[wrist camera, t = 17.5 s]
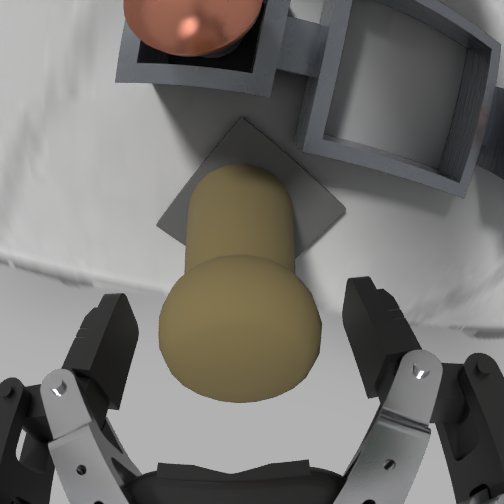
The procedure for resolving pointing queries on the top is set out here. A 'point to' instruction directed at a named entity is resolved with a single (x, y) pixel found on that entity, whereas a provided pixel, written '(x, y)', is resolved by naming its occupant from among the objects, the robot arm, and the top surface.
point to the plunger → (192, 24)
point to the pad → (275, 161)
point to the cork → (240, 293)
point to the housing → (324, 77)
